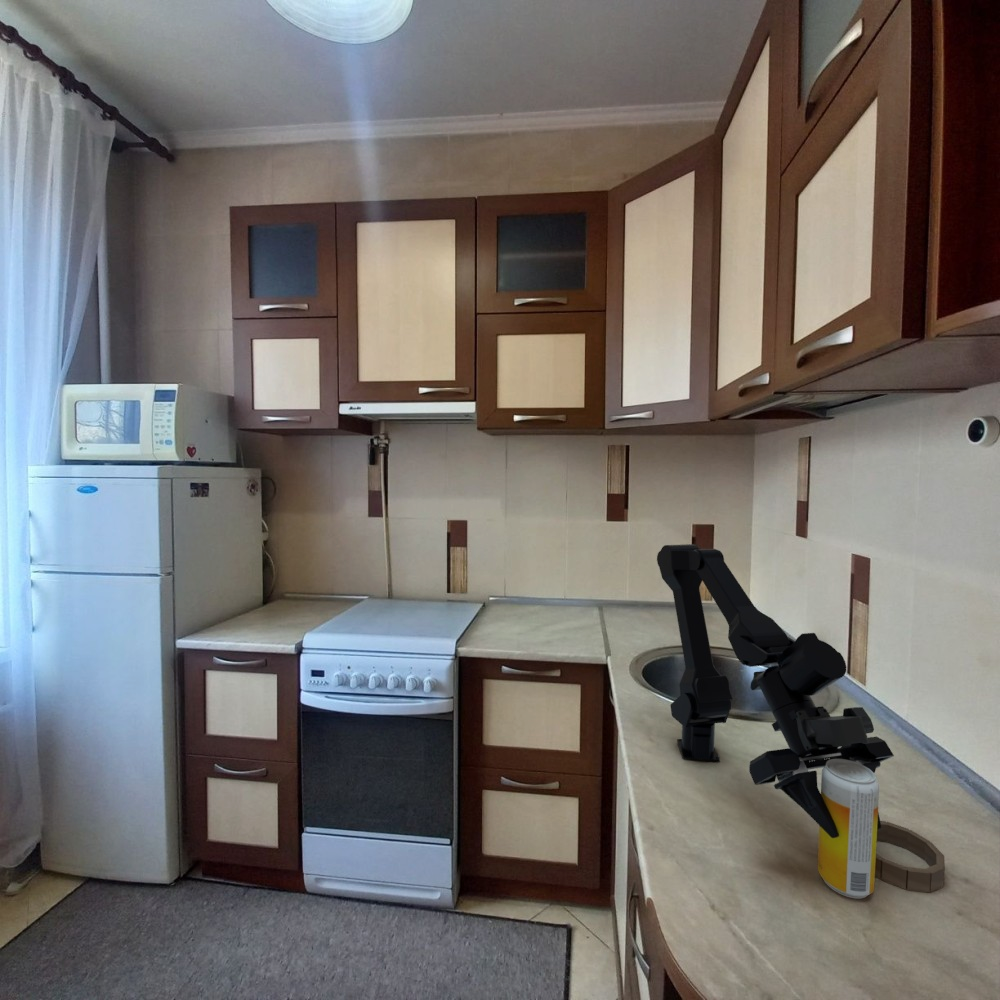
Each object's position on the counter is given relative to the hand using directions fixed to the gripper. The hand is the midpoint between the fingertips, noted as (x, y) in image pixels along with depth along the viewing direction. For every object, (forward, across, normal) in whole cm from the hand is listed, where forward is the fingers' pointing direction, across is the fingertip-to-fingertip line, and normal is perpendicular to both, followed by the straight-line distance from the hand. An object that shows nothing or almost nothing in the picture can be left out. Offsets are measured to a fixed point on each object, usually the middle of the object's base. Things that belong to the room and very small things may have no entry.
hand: (857, 833), depth 66 cm
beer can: (+4, 0, +6) cm, 8 cm away
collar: (+3, +10, +7) cm, 13 cm away
